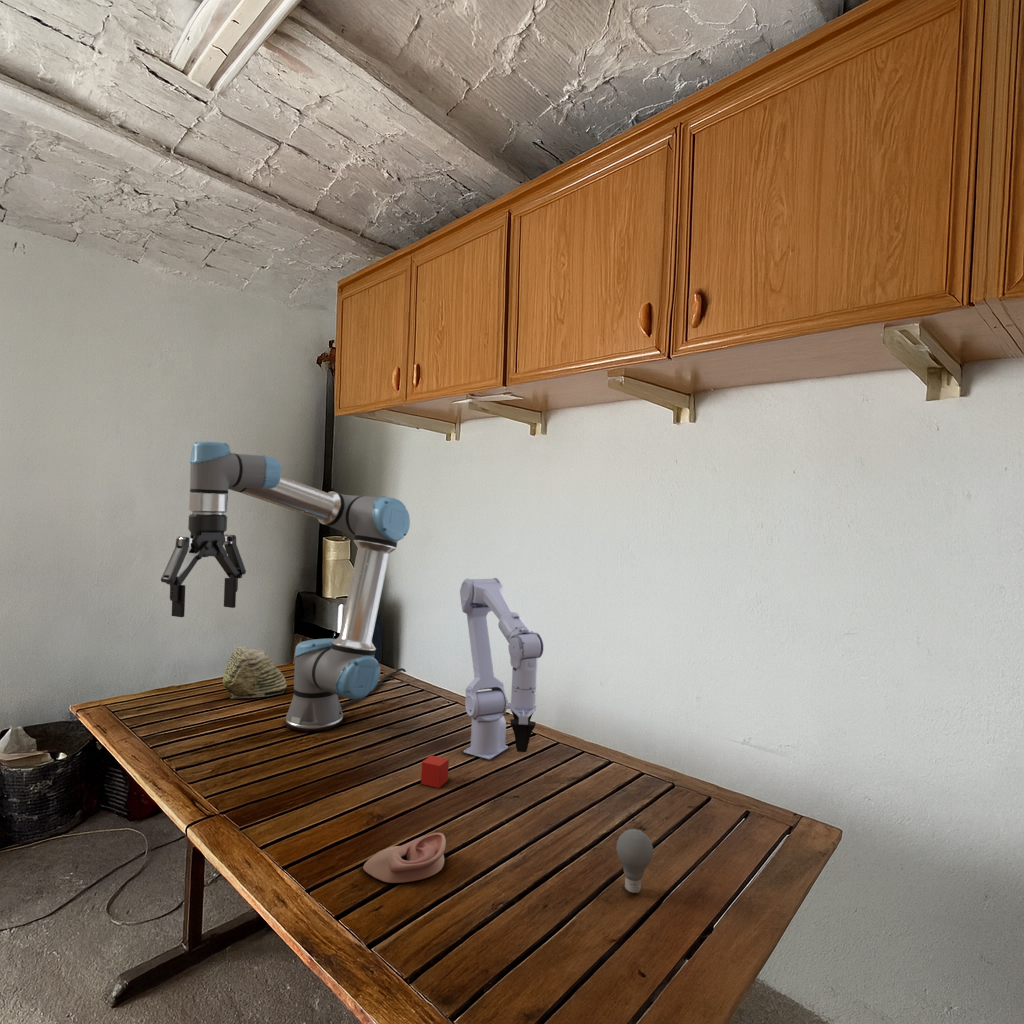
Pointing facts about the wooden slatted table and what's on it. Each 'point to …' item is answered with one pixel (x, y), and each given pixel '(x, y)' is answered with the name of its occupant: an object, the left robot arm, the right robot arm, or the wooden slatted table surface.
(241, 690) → the fossil
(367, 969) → the wooden slatted table surface
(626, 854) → the light bulb
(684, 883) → the wooden slatted table surface
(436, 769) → the block
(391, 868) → the anatomical model
